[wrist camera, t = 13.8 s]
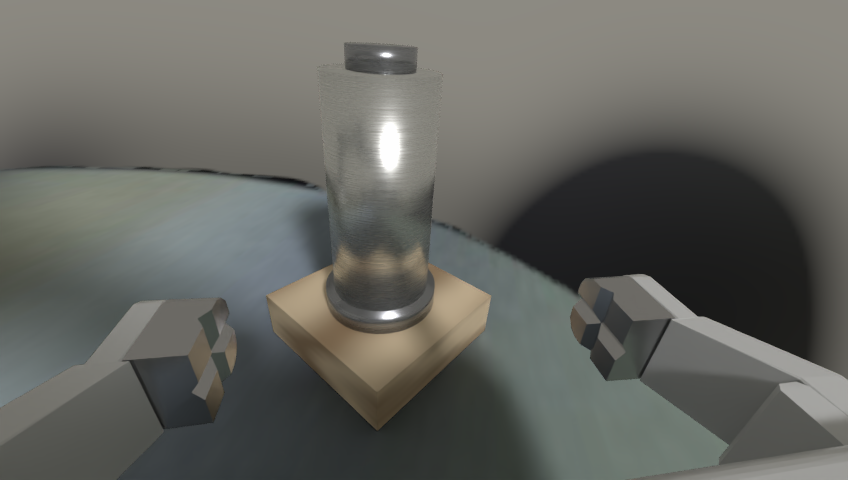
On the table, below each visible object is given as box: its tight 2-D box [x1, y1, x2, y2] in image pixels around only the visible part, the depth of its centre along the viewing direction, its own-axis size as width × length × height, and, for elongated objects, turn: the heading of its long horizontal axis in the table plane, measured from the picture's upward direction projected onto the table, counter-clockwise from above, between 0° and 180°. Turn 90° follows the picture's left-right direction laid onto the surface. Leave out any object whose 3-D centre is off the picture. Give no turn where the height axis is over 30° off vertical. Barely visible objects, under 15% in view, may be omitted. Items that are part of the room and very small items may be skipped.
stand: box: [266, 263, 491, 431], centre depth 24 cm, size 10×10×3 cm
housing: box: [317, 42, 443, 334], centre depth 19 cm, size 7×7×14 cm
